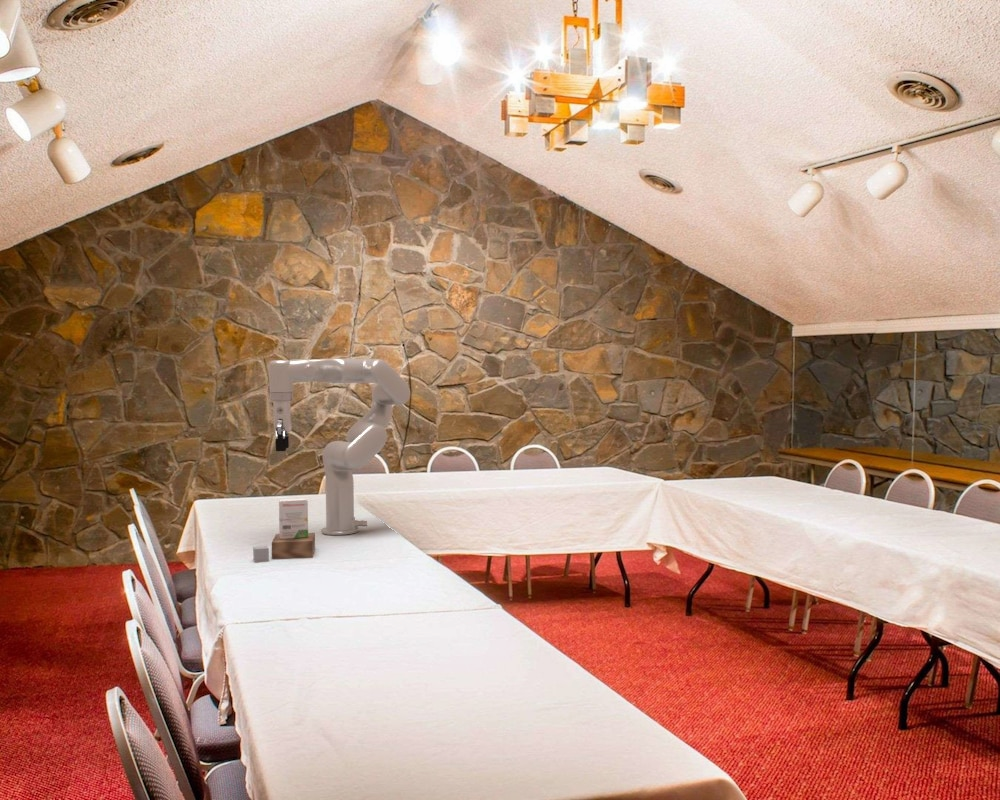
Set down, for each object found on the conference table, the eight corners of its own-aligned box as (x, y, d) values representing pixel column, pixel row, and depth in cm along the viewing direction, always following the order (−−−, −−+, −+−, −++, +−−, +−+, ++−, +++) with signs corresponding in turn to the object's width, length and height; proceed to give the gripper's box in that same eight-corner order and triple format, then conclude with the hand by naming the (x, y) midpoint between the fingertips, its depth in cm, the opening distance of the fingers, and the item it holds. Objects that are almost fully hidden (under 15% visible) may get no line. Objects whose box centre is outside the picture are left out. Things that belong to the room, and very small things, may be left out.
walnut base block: (315, 548, 290) (314, 532, 290) (312, 557, 277) (312, 541, 277) (276, 549, 288) (276, 534, 288) (271, 558, 276) (271, 542, 275)
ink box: (307, 535, 286) (306, 497, 286) (308, 538, 282) (307, 500, 281) (279, 536, 284) (278, 498, 283) (279, 539, 279) (279, 501, 279)
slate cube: (267, 558, 276) (266, 545, 276) (268, 561, 272) (268, 548, 272) (253, 560, 275) (253, 546, 275) (255, 562, 271) (254, 549, 271)
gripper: (290, 398, 293) (291, 452, 293) (295, 396, 310) (296, 446, 310) (266, 399, 292) (267, 452, 292) (272, 396, 309) (273, 447, 309)
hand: (282, 449), depth 301 cm, fingers open, 9 cm apart
